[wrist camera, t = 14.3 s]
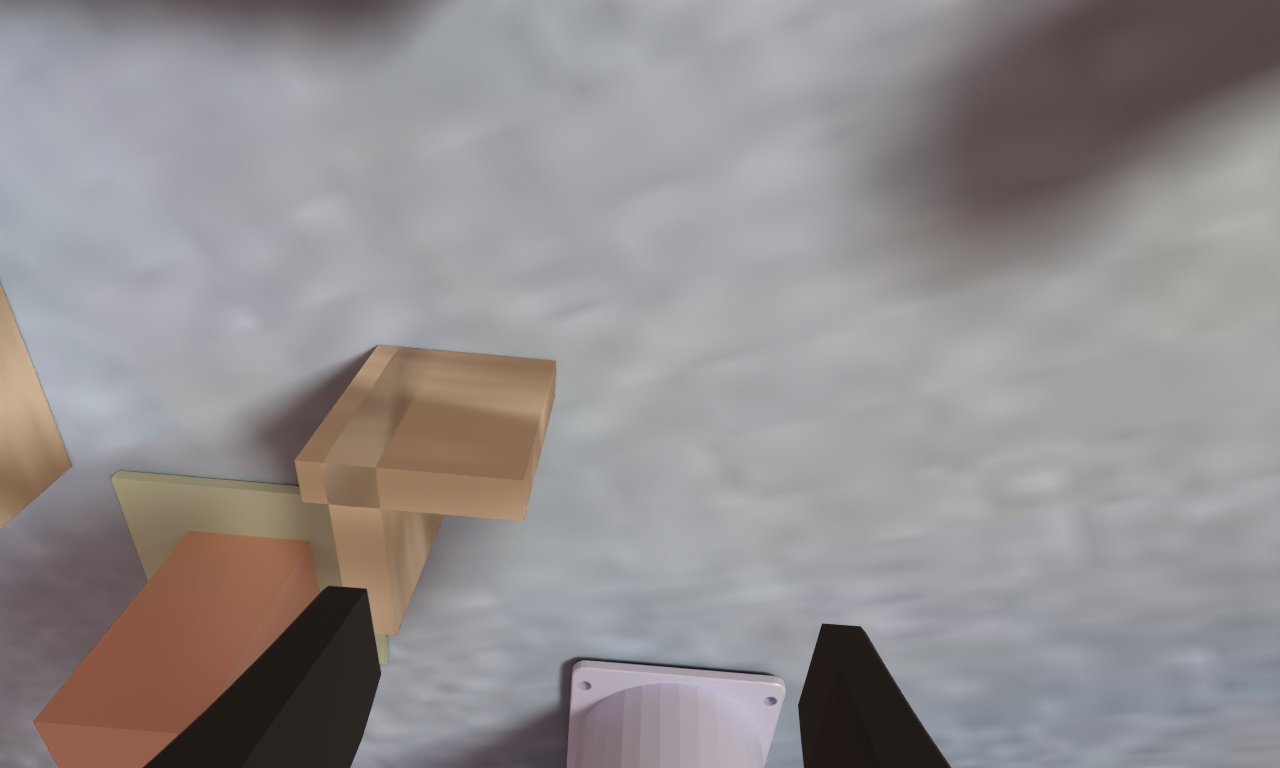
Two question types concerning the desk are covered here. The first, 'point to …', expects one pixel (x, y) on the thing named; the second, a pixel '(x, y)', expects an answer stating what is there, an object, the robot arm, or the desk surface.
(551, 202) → the desk surface
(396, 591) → the wooden channel
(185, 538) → the terracotta block
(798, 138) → the desk surface
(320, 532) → the sage mat
